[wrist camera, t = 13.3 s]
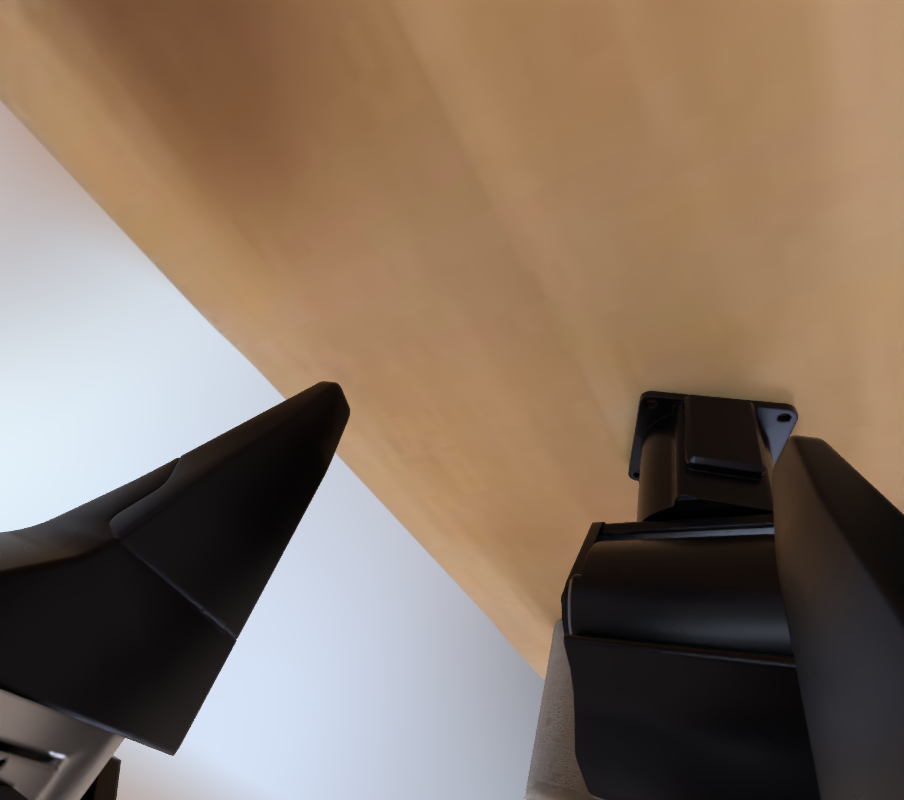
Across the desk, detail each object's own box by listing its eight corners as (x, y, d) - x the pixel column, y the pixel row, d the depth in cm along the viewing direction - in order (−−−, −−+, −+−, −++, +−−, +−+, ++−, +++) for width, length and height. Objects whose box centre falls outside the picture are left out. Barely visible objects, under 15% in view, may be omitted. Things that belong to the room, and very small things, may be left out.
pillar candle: (641, 621, 37) (631, 861, 27) (671, 672, 42) (672, 893, 32) (538, 610, 43) (497, 806, 33) (574, 656, 47) (548, 840, 37)
